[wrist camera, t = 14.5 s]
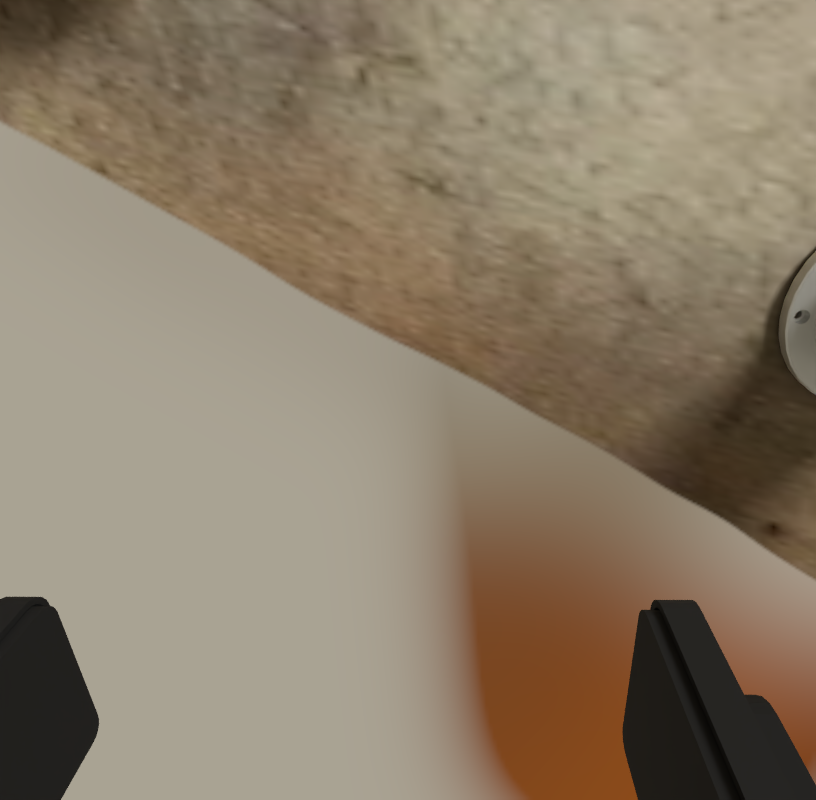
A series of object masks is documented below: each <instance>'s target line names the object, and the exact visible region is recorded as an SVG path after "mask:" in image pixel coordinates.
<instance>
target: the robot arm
mask: <svg viewBox="0 0 816 800" xmlns="http://www.w3.org/2000/svg"><path fill="white" fill-rule="evenodd" d="M797 312H798V313H797ZM796 313H797V315H796ZM779 342H780V348H781V354H782V356H783V358H784V361H785V363H786V365H787V368H788V369H789V370H790V372H791V373H792V374H793V376H794V377H795V378H796V380H797V381H798V382H799V383H801V384H802V385H803V386H804V387H805V388H807V389H808V390H809V391H810V392H812V393H813V394H815V395H816V251H815V252H814V253H813V255H812V256H811V257H810V258H809V259H808V260H807V261H806V262H805V264H804V265H803V267H802V268H801V270H800V271H799V273H798V274H797V275H796V277H795V278H794V280H793V282H792V284H791V286H790V288H789V291H788V293H787V295H786V297H785V299H784V303H783V307H782V311H781V314H780V319H779ZM98 726H99V718H98V714H97V712H96V709H95V707H94V704H93V701H92V699H91V696H90V694H89V691H88V689H87V686H86V684H85V681H84V678H83V676H82V673H81V671H80V668H79V666H78V663H77V661H76V658H75V655H74V653H73V650H72V648H71V645H70V643H69V640H68V638H67V635H66V633H65V630H64V628H63V625H62V622H61V620H60V618H59V615H58V612H57V611H56V609H55V608H54V607H52V606H50V605H49V603H48V602H47V600H46V599H44V598H42V597H5V598H2V599H0V800H61V798H62V797H63V795H64V793H65V791H66V789H67V788H68V786H69V784H70V782H71V781H72V779H73V777H74V775H75V774H76V772H77V770H78V768H79V767H80V765H81V763H82V761H83V760H84V758H85V756H86V754H87V753H88V751H89V749H90V747H91V746H92V744H93V742H94V739H95V738H96V735H97V731H98ZM623 743H624V749H625V753H626V757H627V761H628V764H629V768H630V772H631V776H632V779H633V783H634V786H635V790H636V793H637V797H638V800H816V785H815V783H814V781H813V779H812V777H811V776H810V774H809V772H808V770H807V768H806V766H805V765H804V763H803V761H802V759H801V757H800V756H799V754H798V752H797V750H796V748H795V746H794V745H793V743H792V741H791V739H790V737H789V735H788V734H787V732H786V730H785V728H784V727H783V724H782V723H781V721H780V719H779V717H778V716H777V714H776V712H775V711H774V709H773V708H772V706H771V705H770V703H769V702H768V701H767V700H765V699H764V698H763V697H762V696H758V695H744V694H743V692H742V690H741V688H740V686H739V684H738V682H737V680H736V678H735V676H734V674H733V672H732V670H731V668H730V666H729V664H728V662H727V660H726V658H725V656H724V654H723V653H722V650H721V649H720V647H719V645H718V643H717V641H716V639H715V637H714V635H713V633H712V631H711V629H710V627H709V625H708V623H707V621H706V620H705V617H704V615H703V613H702V611H701V610H700V608H699V606H698V605H697V603H696V602H695V601H693V600H654V601H653V602H652V605H651V609H650V610H641V611H640V613H639V618H638V625H637V632H636V639H635V646H634V653H633V660H632V667H631V674H630V681H629V688H628V695H627V702H626V708H625V716H624V722H623Z"/></svg>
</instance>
